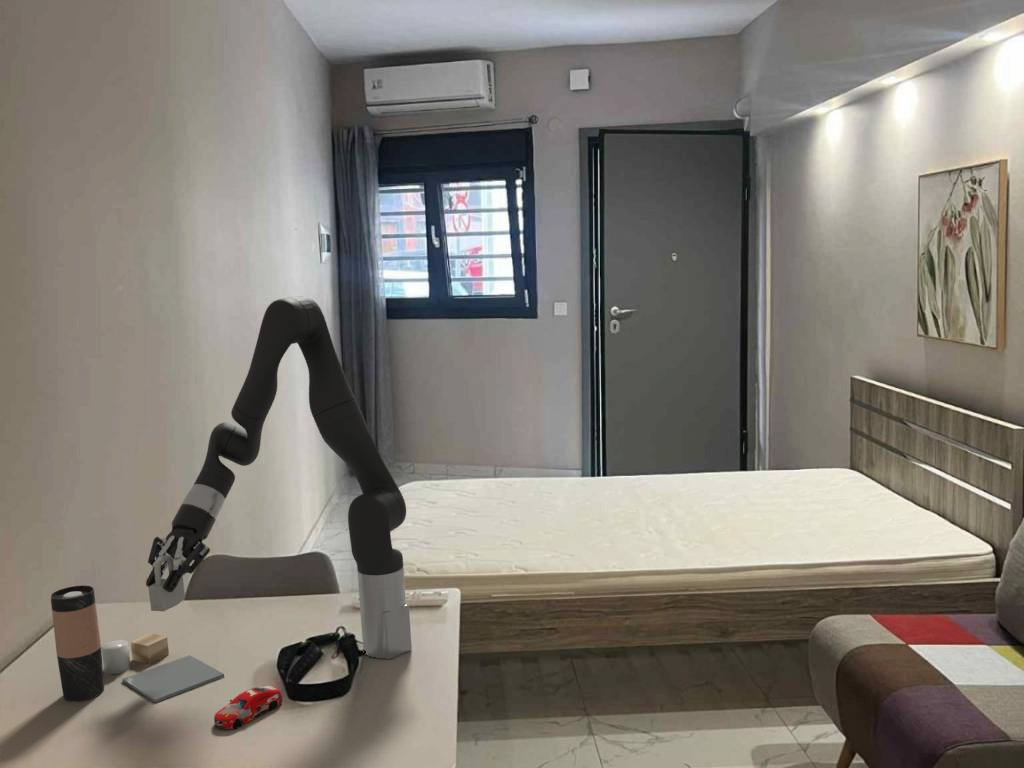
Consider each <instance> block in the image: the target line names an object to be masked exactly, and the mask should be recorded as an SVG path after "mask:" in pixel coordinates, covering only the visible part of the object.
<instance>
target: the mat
mask: <svg viewBox="0 0 1024 768" xmlns="http://www.w3.org/2000/svg"><path fill="white" fill-rule="evenodd" d="M224 677H225V673H224V672H222V671H220V670H218V669H216V668H214V667H213V666H210V665H209V664H207V663H206V662H203V661H201V660H200V659H197V658H196V657H194V656H192V655H190V654H189V655H186V656H183V657H180V658H178V659H175V660H172V661H169V662H166V663H163V664H160V665H157V666H155V667H152V668H150V669H146V670H143V671H140V672H138V673H135V674H132V675H129V676H127V677H123V678H121V679H122V680H121V681H122V683H124V684H125V685H126V686H128V687H130V688H131V689H132V690H135V691H137V692H138V693H140V695H142V696H144V697H145V698H147V699H148V700H151V702H153V703H158V702H160V701H164V700H166V699H169V698H172V697H174V696H177V695H180V694H182V693H186V692H187V691H191V690H193V689H195V688H198V687H200V686H203V685H204V686H205V685H206V684H208V683H211V682H214V681H216V680H217V681H218V680H220V679H222V678H224Z"/></svg>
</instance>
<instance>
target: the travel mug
mask: <svg viewBox="0 0 1024 768" xmlns="http://www.w3.org/2000/svg"><path fill="white" fill-rule="evenodd" d="M96 603H97V602H96V597H95V589H94V587H92V586H91V585H75V586H74V585H73V586H68V587H64V588H61V589H58V590H55V591H54V592H53V593H51V595H50V605H51V614H52V624H53V633H54V641H55V649H56V657H57V664H58V672H59V677H60V682H61V690H62V695H63V699H64V700H65V701H67V702H72V701H77V702H83V700H84V701H88V700H91V699H94V698H96V697H98V696H100V695H101V694H102V693H103V692H104V690H105V683H104V668H103V659H102V650H101V647H102V644H101V637H100V636H101V635H100V629H99V628H100V627H99V626H100V625H99V621H98V613H97V604H96Z"/></svg>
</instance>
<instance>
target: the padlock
mask: <svg viewBox="0 0 1024 768" xmlns="http://www.w3.org/2000/svg"><path fill="white" fill-rule="evenodd" d="M165 561H167V563H168V567H167V569H168V575H169V574H170V572H171V570H173V571H174V569H173V567H174V564H175V561H174V562H173V559H172V557H171V556H170V555H169V554H166V555H164V556H162V557H160V558H159V559H158V560H157V561H156V563H155V567H154V573H155V581H156V582H155V583H154V584H152V585H151V586H150V587H148V596H149V603H150V611H151V612H163V613H164V612H166V611H168V610H170V609H171V608H174V607H176V606H178V605H179V604H180V603H182V602H183V601H184V600H185V599H186V593H185V585H184V584H185V583H184V575H183V576H182V577H181V578H180V580H179V582H178V584H177V586H176V588H175V589H174V590H173V592H168V591H166V590H165V589H164V588H163V585H164V583H165V581H166V580H167V578H168V576H166V577H163V578H162V577H161V565H162V564H163V563H164V562H165Z"/></svg>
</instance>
